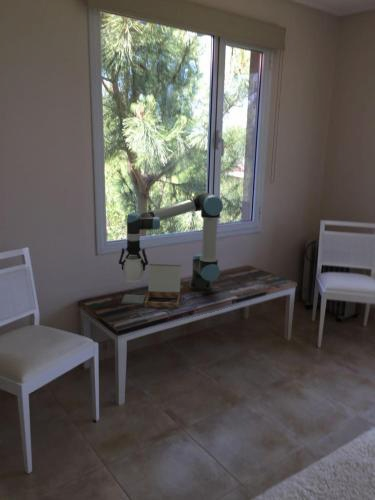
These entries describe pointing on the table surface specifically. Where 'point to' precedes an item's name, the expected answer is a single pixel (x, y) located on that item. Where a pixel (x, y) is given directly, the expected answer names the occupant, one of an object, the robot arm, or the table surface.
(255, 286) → the table surface
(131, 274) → the jar
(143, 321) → the table surface
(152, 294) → the cold frame
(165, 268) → the lid
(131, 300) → the slate tile
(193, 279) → the robot arm
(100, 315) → the table surface
